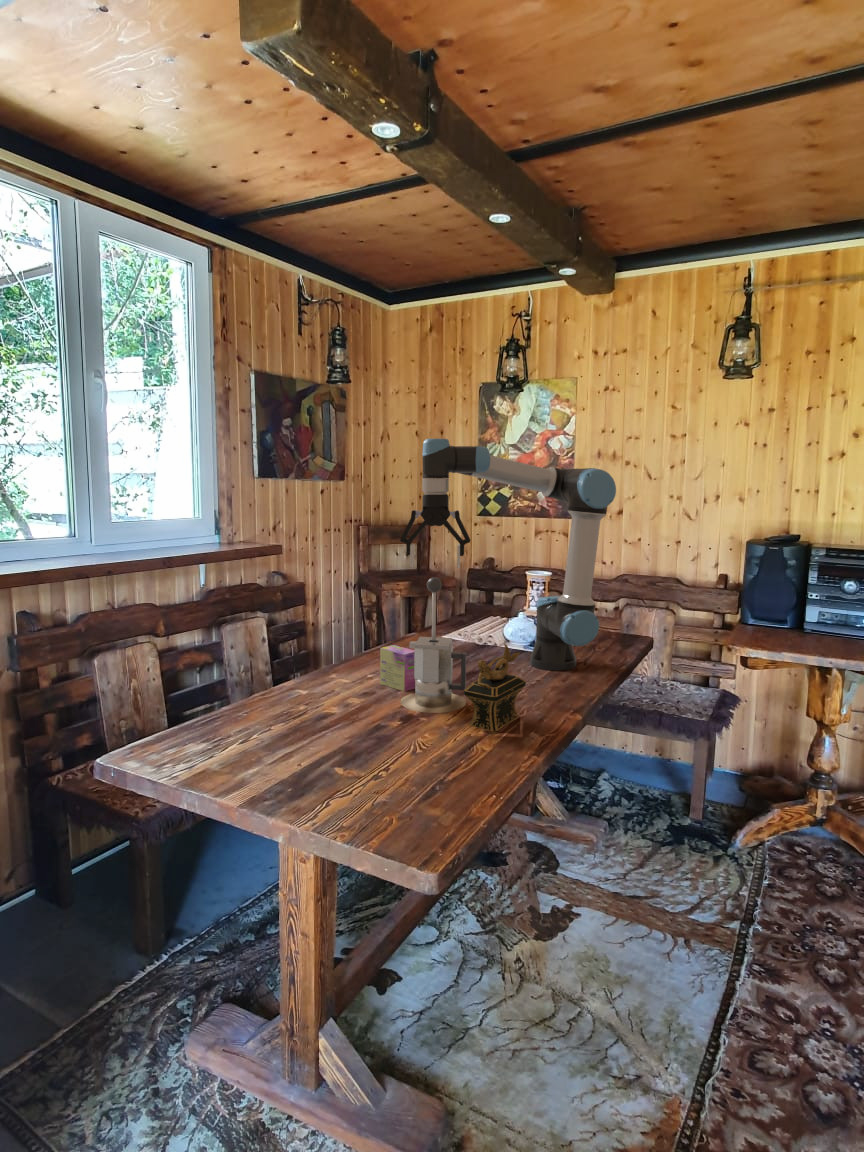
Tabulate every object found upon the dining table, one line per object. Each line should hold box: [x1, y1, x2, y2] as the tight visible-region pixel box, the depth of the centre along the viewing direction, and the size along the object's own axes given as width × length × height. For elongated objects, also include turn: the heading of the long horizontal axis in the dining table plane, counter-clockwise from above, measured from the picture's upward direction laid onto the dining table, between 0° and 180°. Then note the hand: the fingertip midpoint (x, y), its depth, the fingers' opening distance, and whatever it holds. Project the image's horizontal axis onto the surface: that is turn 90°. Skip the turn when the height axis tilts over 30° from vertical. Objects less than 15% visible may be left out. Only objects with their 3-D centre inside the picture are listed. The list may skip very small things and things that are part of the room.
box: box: [379, 644, 415, 692], centre depth 206 cm, size 10×6×12 cm, turn 47°
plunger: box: [426, 577, 443, 640], centre depth 188 cm, size 4×4×17 cm
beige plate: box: [400, 692, 467, 714], centre depth 192 cm, size 18×18×1 cm
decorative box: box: [463, 642, 527, 735], centre depth 178 cm, size 20×10×20 cm, turn 146°
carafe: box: [408, 636, 467, 708], centre depth 191 cm, size 15×10×17 cm, turn 82°
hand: (435, 567), depth 203 cm, fingers open, 13 cm apart
